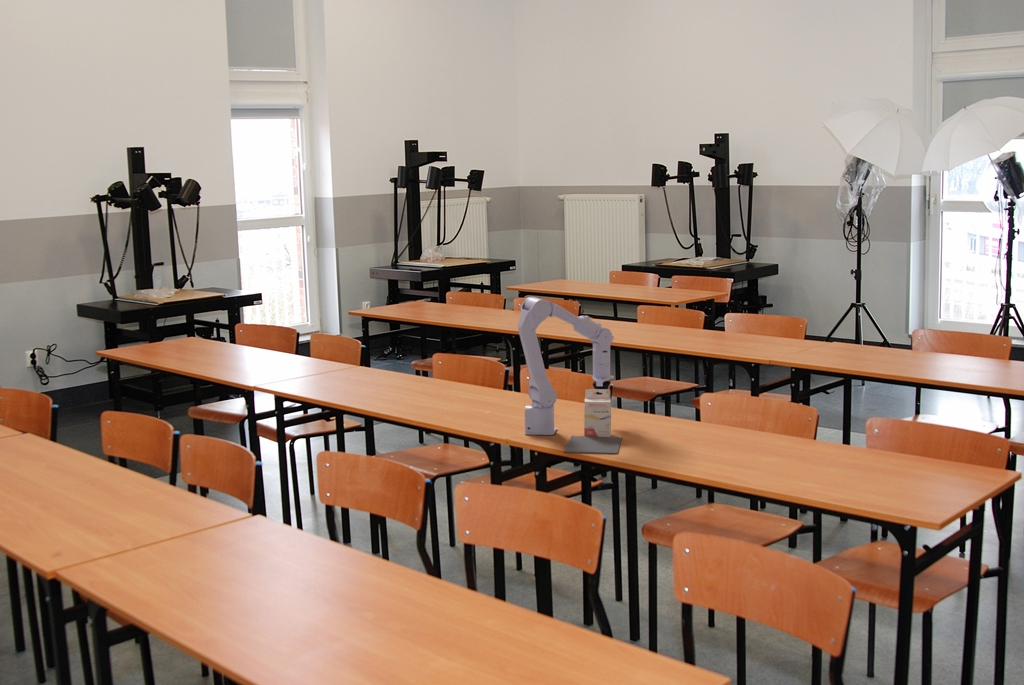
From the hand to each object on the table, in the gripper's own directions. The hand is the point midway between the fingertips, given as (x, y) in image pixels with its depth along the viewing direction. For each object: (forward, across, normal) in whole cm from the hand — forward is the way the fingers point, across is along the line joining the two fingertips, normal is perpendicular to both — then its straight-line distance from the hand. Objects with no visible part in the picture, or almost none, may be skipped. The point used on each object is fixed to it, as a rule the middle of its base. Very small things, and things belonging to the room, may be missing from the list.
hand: (601, 403), depth 327 cm
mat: (+7, -26, 0) cm, 27 cm away
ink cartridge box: (+8, -14, 0) cm, 15 cm away
